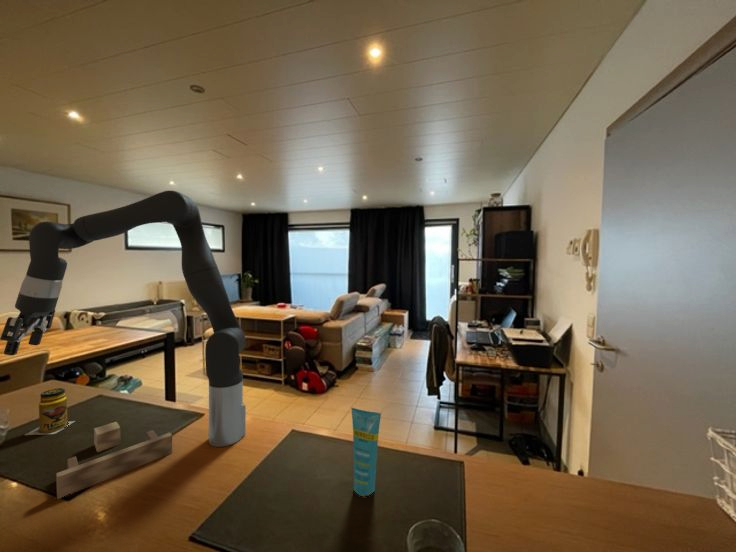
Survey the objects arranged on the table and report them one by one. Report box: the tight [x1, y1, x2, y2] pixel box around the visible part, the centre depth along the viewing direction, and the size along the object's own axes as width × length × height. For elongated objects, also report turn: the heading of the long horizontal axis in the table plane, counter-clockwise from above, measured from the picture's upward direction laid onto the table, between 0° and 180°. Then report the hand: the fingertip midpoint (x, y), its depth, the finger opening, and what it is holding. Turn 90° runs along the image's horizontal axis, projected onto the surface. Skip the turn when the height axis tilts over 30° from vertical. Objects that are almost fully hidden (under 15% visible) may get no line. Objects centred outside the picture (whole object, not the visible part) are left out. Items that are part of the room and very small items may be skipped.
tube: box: [351, 407, 382, 496], centre depth 69 cm, size 7×5×19 cm, turn 72°
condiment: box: [24, 387, 76, 436], centre depth 93 cm, size 7×8×12 cm
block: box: [93, 421, 122, 453], centre depth 85 cm, size 5×5×5 cm
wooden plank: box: [56, 429, 173, 500], centre depth 77 cm, size 22×9×5 cm, turn 140°
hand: (22, 349), depth 81 cm, fingers open, 8 cm apart
